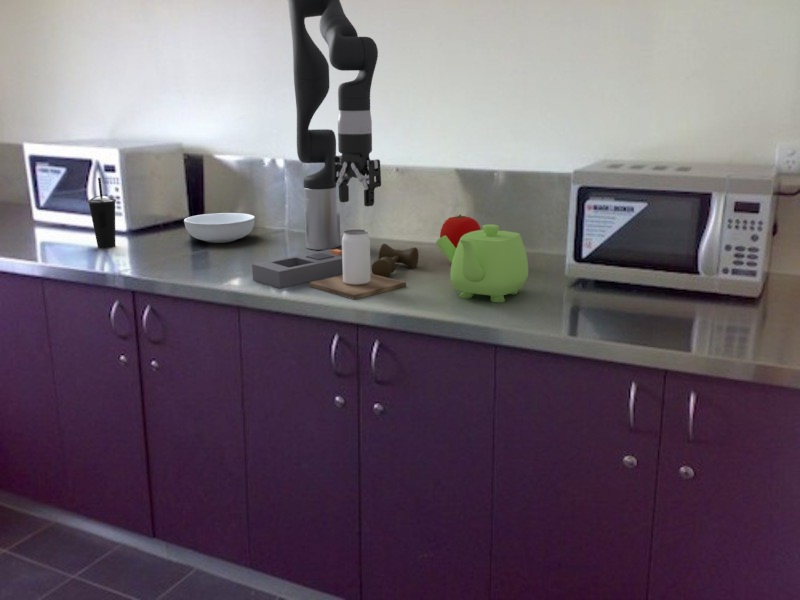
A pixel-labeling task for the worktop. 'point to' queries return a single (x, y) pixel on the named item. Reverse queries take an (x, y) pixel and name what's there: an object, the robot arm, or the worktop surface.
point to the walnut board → (358, 286)
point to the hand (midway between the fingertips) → (356, 203)
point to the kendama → (393, 260)
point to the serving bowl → (219, 226)
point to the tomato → (458, 228)
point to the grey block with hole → (299, 268)
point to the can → (356, 257)
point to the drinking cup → (103, 219)
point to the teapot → (487, 262)
